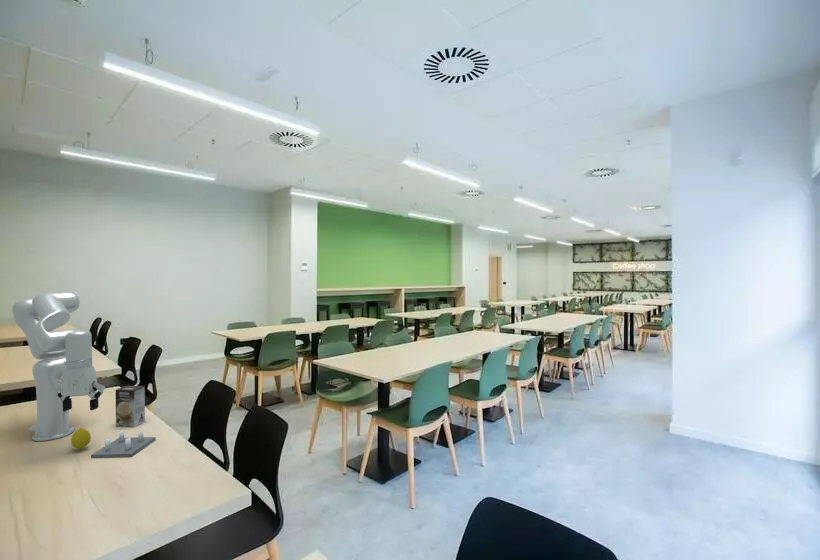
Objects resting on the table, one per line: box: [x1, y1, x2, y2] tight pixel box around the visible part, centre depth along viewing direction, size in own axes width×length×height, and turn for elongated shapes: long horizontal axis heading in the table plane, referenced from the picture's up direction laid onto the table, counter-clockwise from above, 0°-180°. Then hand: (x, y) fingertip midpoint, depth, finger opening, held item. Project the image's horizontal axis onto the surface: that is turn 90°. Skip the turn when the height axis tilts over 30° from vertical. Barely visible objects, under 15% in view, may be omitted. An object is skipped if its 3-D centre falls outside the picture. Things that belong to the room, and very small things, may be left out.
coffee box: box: [114, 385, 146, 428], centre depth 168 cm, size 9×6×16 cm
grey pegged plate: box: [90, 429, 157, 459], centre depth 145 cm, size 14×14×5 cm
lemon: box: [70, 427, 92, 450], centre depth 144 cm, size 6×6×8 cm
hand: (80, 409), depth 143 cm, fingers open, 9 cm apart
